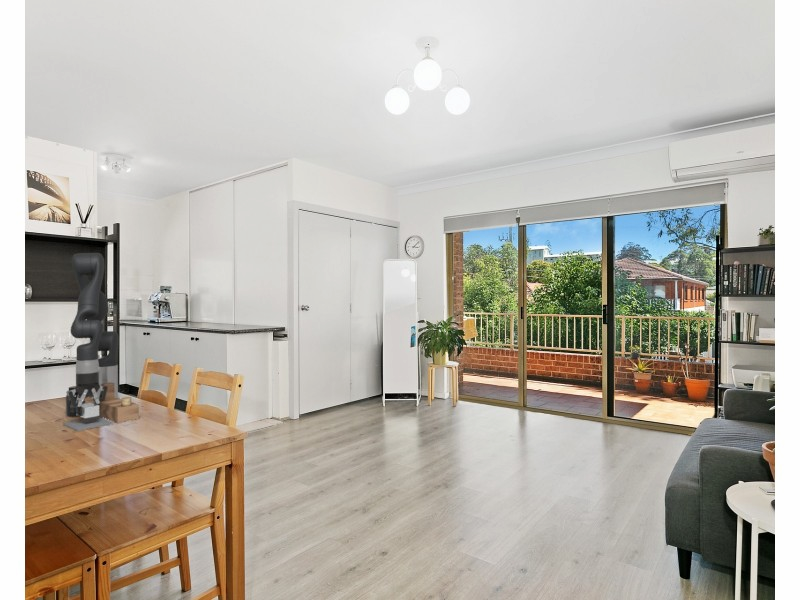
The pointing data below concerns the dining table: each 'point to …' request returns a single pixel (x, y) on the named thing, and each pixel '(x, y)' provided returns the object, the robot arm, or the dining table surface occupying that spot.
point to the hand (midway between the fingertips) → (87, 414)
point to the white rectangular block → (89, 410)
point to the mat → (87, 423)
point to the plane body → (117, 406)
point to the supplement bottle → (69, 408)
